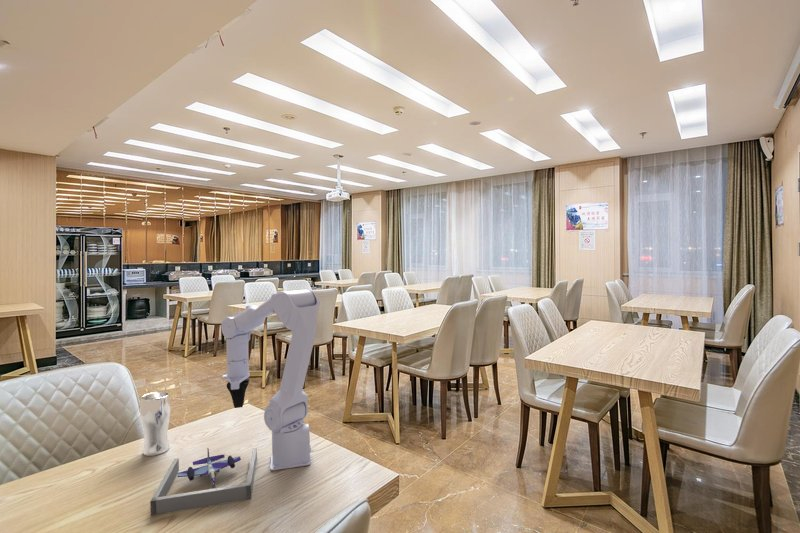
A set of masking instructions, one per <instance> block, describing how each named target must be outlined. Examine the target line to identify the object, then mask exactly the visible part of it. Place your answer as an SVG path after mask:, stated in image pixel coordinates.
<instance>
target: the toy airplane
mask: <svg viewBox="0 0 800 533" xmlns="http://www.w3.org/2000/svg"><path fill="white" fill-rule="evenodd" d="M206 450H207V454H206V455H207V457H204V458H201V459H198V460H195V461H192V466H196V465H197V466H198V465H204V466H199V467H195V468H193V467H192V466H189V467H188V468H187V470H183V471H178V473H177V475H176V477H177V478H185V477H187V479H188V480H189V481H190V482H192V481H193V480H194V479H195V477H197V476H200V477H202V476H208V477H207V478H208V479H209V480H210V482H211V483H212V484H211V486H210V489H214V488H217V487H216V479H217V472H218V473H220V470H223V469H225V468H226V467H230V469H234V468H235V467H236V463H238V462H240V461H241V460H242V458H241V456H236V457H233V456H232V455H228V456H227V459H224V458H225V457H226V456H225V454H217V455H212V456H210V449H209V447H207V449H206ZM221 459H224V460H221ZM218 460H219V461H218Z"/></svg>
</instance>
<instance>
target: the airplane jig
mask: <svg viewBox="0 0 800 533" xmlns="http://www.w3.org/2000/svg"><path fill="white" fill-rule="evenodd" d="M257 449H258V448H257V447H253V448H252V451H251V456H250V462H249V466H248V472H247V477H246V481H245V482H246V483H240V484H234V485H229V486H222V487H216V488H214V489H213V488H209V489H208V488H207V489H203V490H201V489H200V490H195V491H189V492H185V493H184V492H183V493H176V494H170V495H168V492H169V491H170V489H171V486H172V485H173V483H174V480H175V479H176V477H177V473H179V472H180V468H179V467H180V463H179V462H180V460H179V458H174V459H173V460H172V461H171V463H170V465H169V467H168V469H167V471H166V473H164V476H163V478H162V480H161V481H160V484H158V487H157V489H156V490H155V492H154V494H153V496H152V498H151V499H150V516H156V515H157V516H158V515H163V514H169V513H175V512H182V511H187V510H194V509H199V508H200V509H201V508H203V507H204V508H205V507H211V506H217V505H224V504H230V503H236V502H242V501H248V500H252V495H253V488H254V481H255V474H256V468H257V461H258V450H257Z"/></svg>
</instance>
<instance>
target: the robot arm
mask: <svg viewBox="0 0 800 533" xmlns="http://www.w3.org/2000/svg"><path fill="white" fill-rule="evenodd" d="M320 305H321V304H320V299H319V298H318V296H317V294H316V292H315V291H314V290H313V289H311V288H303V289H298V290H297V289H295V290H286V291H284V290H280V291H277V292H276V293H273V294H271V297H269V298H268V299H267V300H266V301H264V302H263V303H261V304H260V305H253V304H249V305H247V306H245V309H243V311H238V312H236V315H235V316H226V317H225V318H223V320H222V321H221V326H220V328H221V333H222V335H223V336H224V338H225V341H226V342H225V344H226V346H225V347H226V374H223V375H222V376H221V378H222V379H223V380H227V381H228V382H227V383H226V388H227V390H228V391H229V393H230V396H231V400H232V404H233V408H234V409H238V408H239V409H240V408H243V406H244V403H245V396H246V391H247V388H248V385H249V383H250V378H249V377H251V376H250V374H251V373H250V366H249V364H250V362H249V361H250V360H249V357H250V356H249V341H250V340H251V334H252V332H253V330H255V329H257V328H258V327H260V326H262V325H263V324H264V323H265V321H266V318H268V317H270V316H272V315H274V314H275V315H276V317H278V319H279V321H281V323H282V324H283V325H284V328H286V329H287V330H290V331H291V333H292V334H291V337H290V338H291V339H290V342H289V346H288V351H287V355H286V360H285V365H284V368H283V373H282V377H281V382H280V387H279V389H278V390H277V391H276V392H275V393H274V395H273V396H272V397H271V398H270V399H269V403H268V405H267V406H266V408H265V409H264V413H263V420H264V423H265V425H266V427H267V428H268V430H270V431H271V451H272V452H271V453H272V454H270V466H269V469H270V470H269V471H270V472H271V471H277V470H285V469H293V468H299V467H304V466H310V465H311V453H312V448H311V445H312V444H310V442H311V441H310V439H311V438H310V434H311V433H310V425H309V424H310V423H304V420H305V418H306V417H307V415H308V413H309V412H308V411H309V407H308V401H309V395H308V394H307V393H306V392H305V391H304V385H305V380H306V377H307V372H308V369H309V364H310V361H311V360H310V359H311V357H312V351H313V347H314V343H315V341H316V340H315V338H316V335H317V330H318V324H317V317H318V316H317V315H318V312H319V309H320Z"/></svg>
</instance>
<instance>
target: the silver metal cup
mask: <svg viewBox="0 0 800 533" xmlns="http://www.w3.org/2000/svg"><path fill="white" fill-rule="evenodd" d="M170 418H171V400H170V392H168V391H154V392H150V393H146V394H144V395H141V397H140V406H139V420H140V425H141V428H142V433H143V436H144V437H143V439H144V445H143V450H142V455H143V456H146V457H152V456H154V457H155V456H158V455H161V454H164V453H166V452H167V451H168V450H169V449H170V442H169V438H168V435H169V434H168V433H169V425H170Z"/></svg>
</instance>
